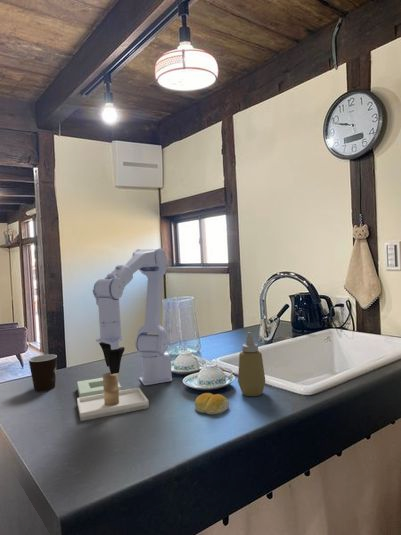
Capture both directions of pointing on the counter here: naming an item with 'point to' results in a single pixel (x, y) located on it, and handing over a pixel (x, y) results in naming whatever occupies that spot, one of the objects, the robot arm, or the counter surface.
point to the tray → (127, 402)
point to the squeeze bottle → (251, 369)
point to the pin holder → (92, 387)
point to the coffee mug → (43, 372)
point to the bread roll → (211, 403)
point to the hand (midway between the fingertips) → (112, 369)
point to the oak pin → (111, 389)
